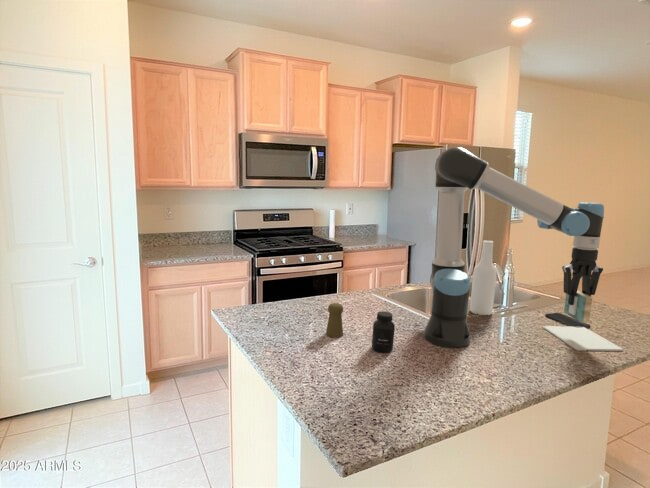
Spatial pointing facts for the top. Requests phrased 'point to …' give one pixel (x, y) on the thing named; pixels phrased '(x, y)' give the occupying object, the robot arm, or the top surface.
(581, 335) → the mat
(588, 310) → the tile
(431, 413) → the top surface
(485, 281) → the alcohol
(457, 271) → the robot arm
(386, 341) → the supplement bottle
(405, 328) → the top surface
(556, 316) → the phone
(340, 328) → the cork
